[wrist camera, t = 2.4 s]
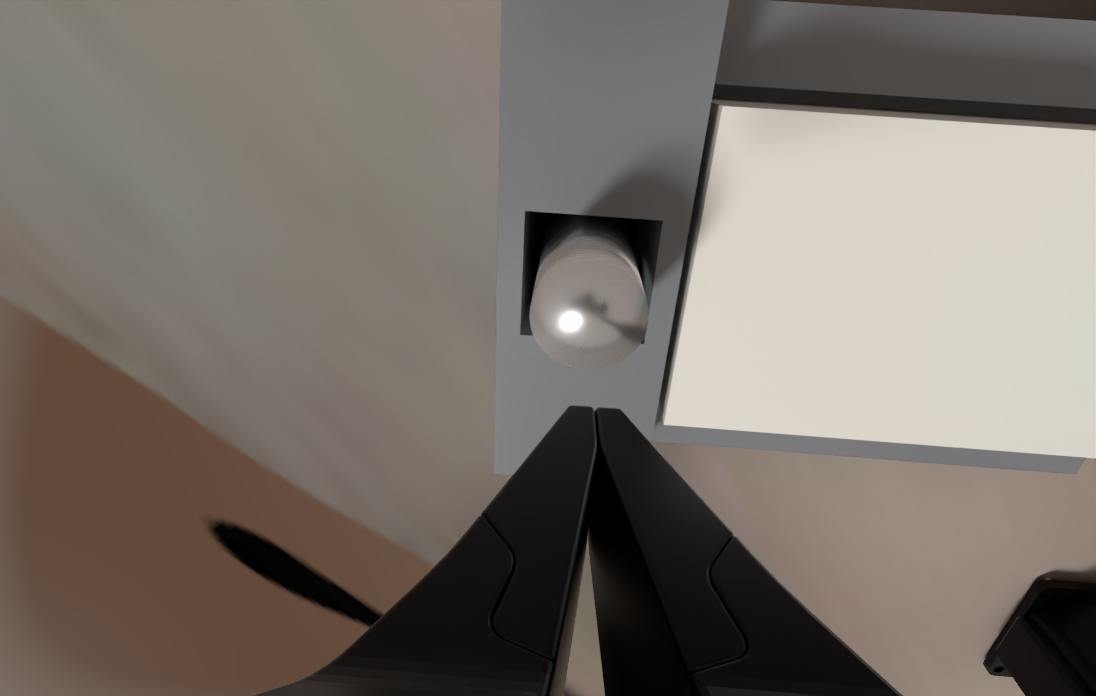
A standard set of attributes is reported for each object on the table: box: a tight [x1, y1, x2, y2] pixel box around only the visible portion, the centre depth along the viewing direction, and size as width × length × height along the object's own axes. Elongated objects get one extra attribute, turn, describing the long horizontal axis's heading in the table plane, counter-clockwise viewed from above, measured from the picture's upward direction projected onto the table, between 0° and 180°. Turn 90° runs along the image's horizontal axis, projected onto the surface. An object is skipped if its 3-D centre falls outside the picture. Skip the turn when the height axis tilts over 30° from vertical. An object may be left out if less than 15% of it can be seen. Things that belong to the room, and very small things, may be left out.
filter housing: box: [494, 0, 1096, 475], centre depth 18 cm, size 21×14×5 cm, turn 87°
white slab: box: [659, 98, 1096, 458], centre depth 15 cm, size 16×9×8 cm, turn 87°
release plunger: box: [529, 214, 649, 370], centre depth 16 cm, size 3×3×6 cm
